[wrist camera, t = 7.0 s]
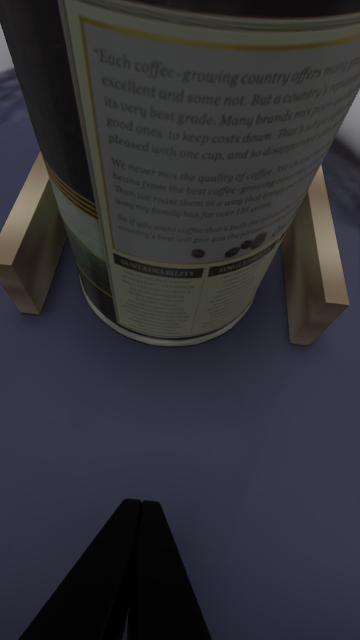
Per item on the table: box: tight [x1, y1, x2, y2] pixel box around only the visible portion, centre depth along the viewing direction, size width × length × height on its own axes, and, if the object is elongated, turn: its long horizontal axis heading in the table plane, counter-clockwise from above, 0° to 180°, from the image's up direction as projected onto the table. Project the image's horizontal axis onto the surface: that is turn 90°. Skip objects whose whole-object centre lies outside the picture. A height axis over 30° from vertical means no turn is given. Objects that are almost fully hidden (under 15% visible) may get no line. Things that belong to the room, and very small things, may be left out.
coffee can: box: [0, 0, 360, 347], centre depth 13 cm, size 10×10×14 cm
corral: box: [0, 151, 349, 345], centre depth 19 cm, size 15×15×4 cm
